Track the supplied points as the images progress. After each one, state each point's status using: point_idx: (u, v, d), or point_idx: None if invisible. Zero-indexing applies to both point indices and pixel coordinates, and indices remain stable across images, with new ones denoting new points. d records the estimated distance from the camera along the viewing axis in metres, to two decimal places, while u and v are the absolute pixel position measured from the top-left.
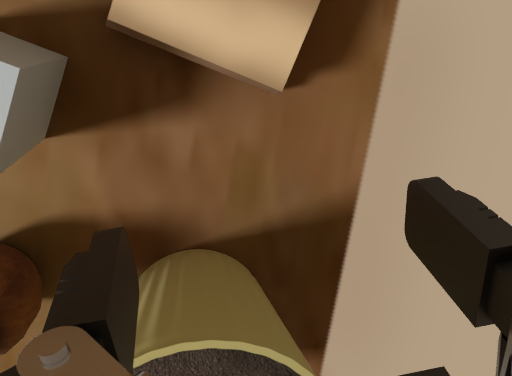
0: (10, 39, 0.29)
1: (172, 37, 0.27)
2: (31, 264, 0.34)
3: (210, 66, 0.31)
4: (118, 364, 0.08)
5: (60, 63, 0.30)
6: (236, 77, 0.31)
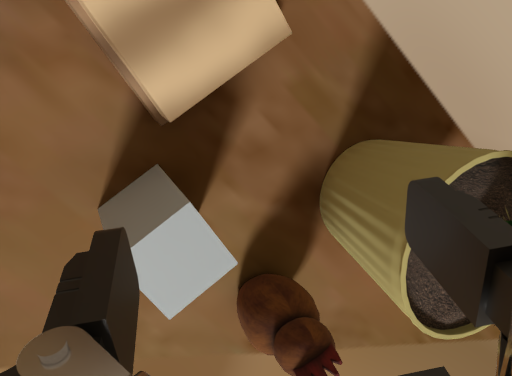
0: (129, 193, 0.36)
1: (209, 85, 0.32)
2: (269, 275, 0.44)
3: None
4: (118, 364, 0.08)
5: None
6: None
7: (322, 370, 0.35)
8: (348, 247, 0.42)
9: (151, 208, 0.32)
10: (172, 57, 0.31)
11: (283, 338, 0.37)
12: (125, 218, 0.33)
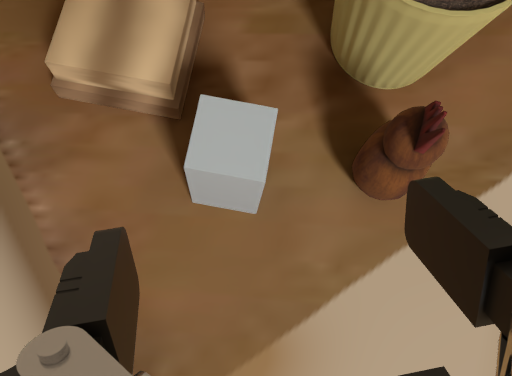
0: None
1: (173, 46, 0.41)
2: None
3: (192, 44, 0.45)
4: (118, 364, 0.08)
5: None
6: (196, 28, 0.45)
7: (429, 121, 0.33)
8: (386, 63, 0.42)
9: None
10: (137, 50, 0.41)
11: (386, 143, 0.36)
12: None
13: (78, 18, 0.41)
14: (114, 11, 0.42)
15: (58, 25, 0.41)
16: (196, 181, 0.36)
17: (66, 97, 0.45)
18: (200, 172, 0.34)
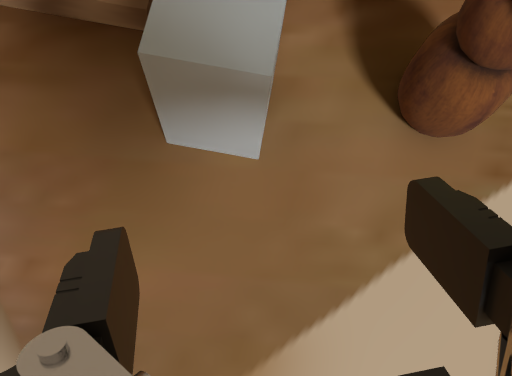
0: None
1: None
2: None
3: None
4: (118, 364, 0.08)
5: None
6: None
7: None
8: None
9: None
10: None
11: (464, 25, 0.22)
12: None
13: None
14: None
15: None
16: (163, 88, 0.23)
17: None
18: (166, 63, 0.21)
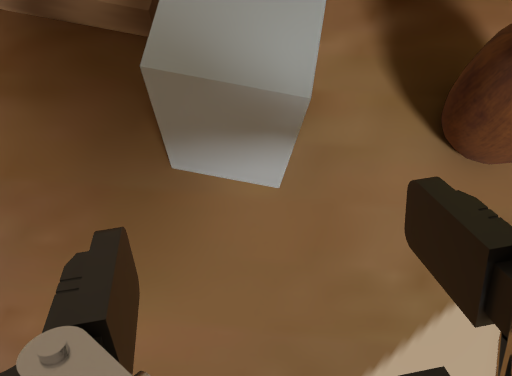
0: None
1: None
2: None
3: None
4: (118, 364, 0.08)
5: None
6: None
7: None
8: None
9: None
10: None
11: None
12: None
13: None
14: None
15: None
16: (170, 109, 0.19)
17: None
18: (176, 79, 0.16)
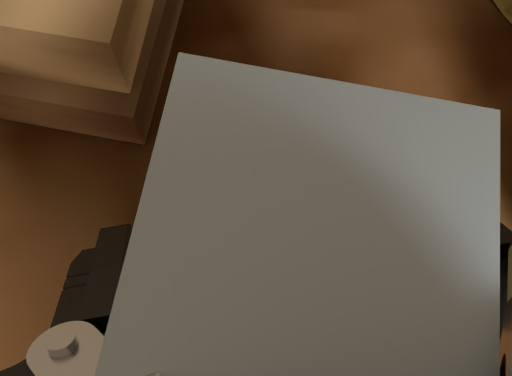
0: None
1: None
2: None
3: None
4: None
5: None
6: None
7: None
8: None
9: None
10: None
11: None
12: None
13: None
14: None
15: None
16: None
17: None
18: None
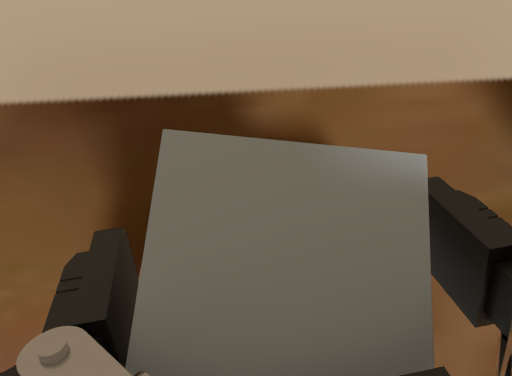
0: None
1: None
2: None
3: None
4: (118, 364, 0.08)
5: None
6: None
7: None
8: None
9: None
10: None
11: None
12: None
13: None
14: None
15: None
16: None
17: None
18: None
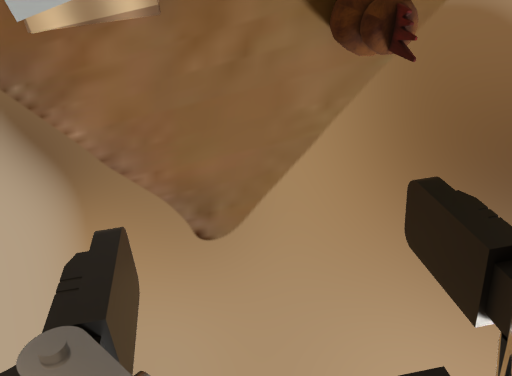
0: None
1: None
2: None
3: None
4: (118, 364, 0.08)
5: None
6: None
7: (402, 31, 0.37)
8: None
9: None
10: None
11: (363, 37, 0.40)
12: None
13: None
14: None
15: None
16: None
17: None
18: (36, 13, 0.30)
